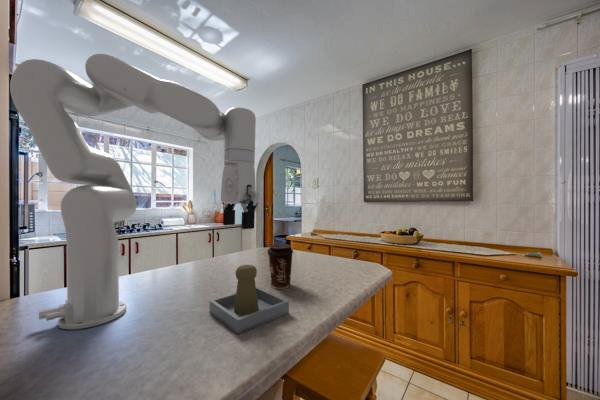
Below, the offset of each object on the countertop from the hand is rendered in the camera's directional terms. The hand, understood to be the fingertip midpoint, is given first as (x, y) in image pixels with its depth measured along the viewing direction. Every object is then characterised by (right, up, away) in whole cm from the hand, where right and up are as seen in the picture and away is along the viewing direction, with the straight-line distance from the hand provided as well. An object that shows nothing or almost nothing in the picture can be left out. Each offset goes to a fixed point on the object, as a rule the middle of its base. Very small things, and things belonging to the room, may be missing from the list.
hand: (237, 226), depth 63 cm
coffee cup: (+9, -21, +18) cm, 30 cm away
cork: (+2, -21, -1) cm, 21 cm away
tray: (+3, -21, -1) cm, 22 cm away
